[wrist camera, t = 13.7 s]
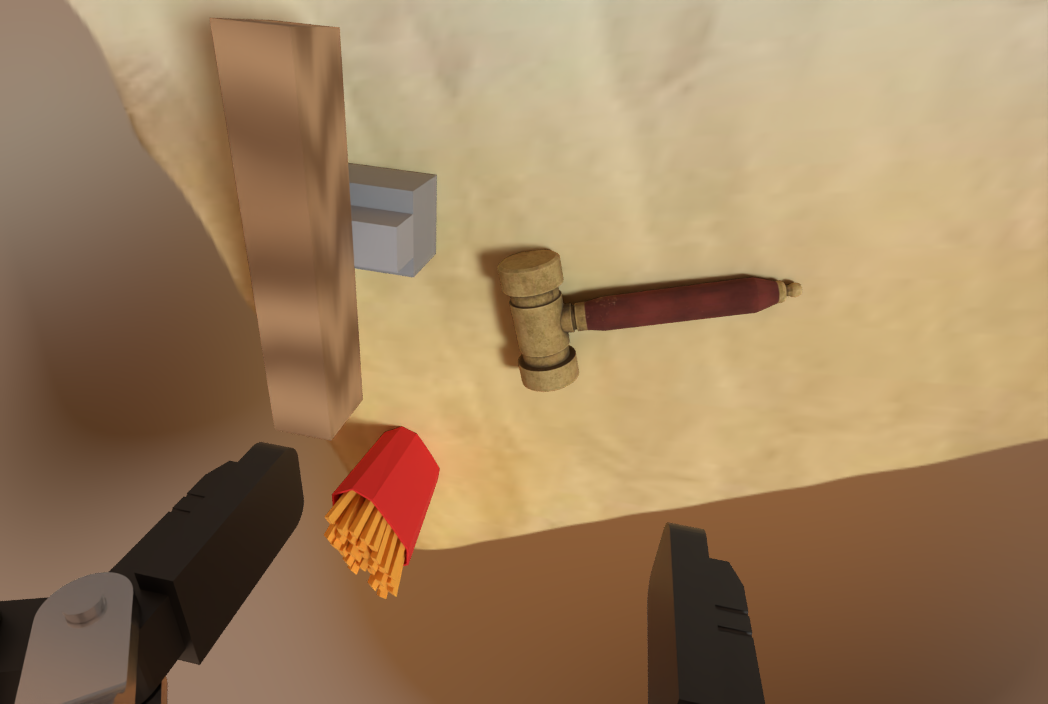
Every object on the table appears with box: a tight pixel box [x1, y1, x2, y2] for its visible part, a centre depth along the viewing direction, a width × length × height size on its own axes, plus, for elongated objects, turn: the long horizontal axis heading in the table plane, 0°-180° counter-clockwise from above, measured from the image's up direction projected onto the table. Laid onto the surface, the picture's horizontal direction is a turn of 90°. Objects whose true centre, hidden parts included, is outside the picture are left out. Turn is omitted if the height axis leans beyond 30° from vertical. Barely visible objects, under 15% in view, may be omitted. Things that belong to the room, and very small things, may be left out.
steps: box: [348, 163, 437, 277], centre depth 40 cm, size 6×10×8 cm, turn 85°
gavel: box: [497, 249, 802, 392], centre depth 42 cm, size 21×5×10 cm
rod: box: [210, 18, 363, 441], centre depth 35 cm, size 24×4×5 cm, turn 175°
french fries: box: [324, 427, 440, 599], centre depth 50 cm, size 9×4×13 cm, turn 26°
